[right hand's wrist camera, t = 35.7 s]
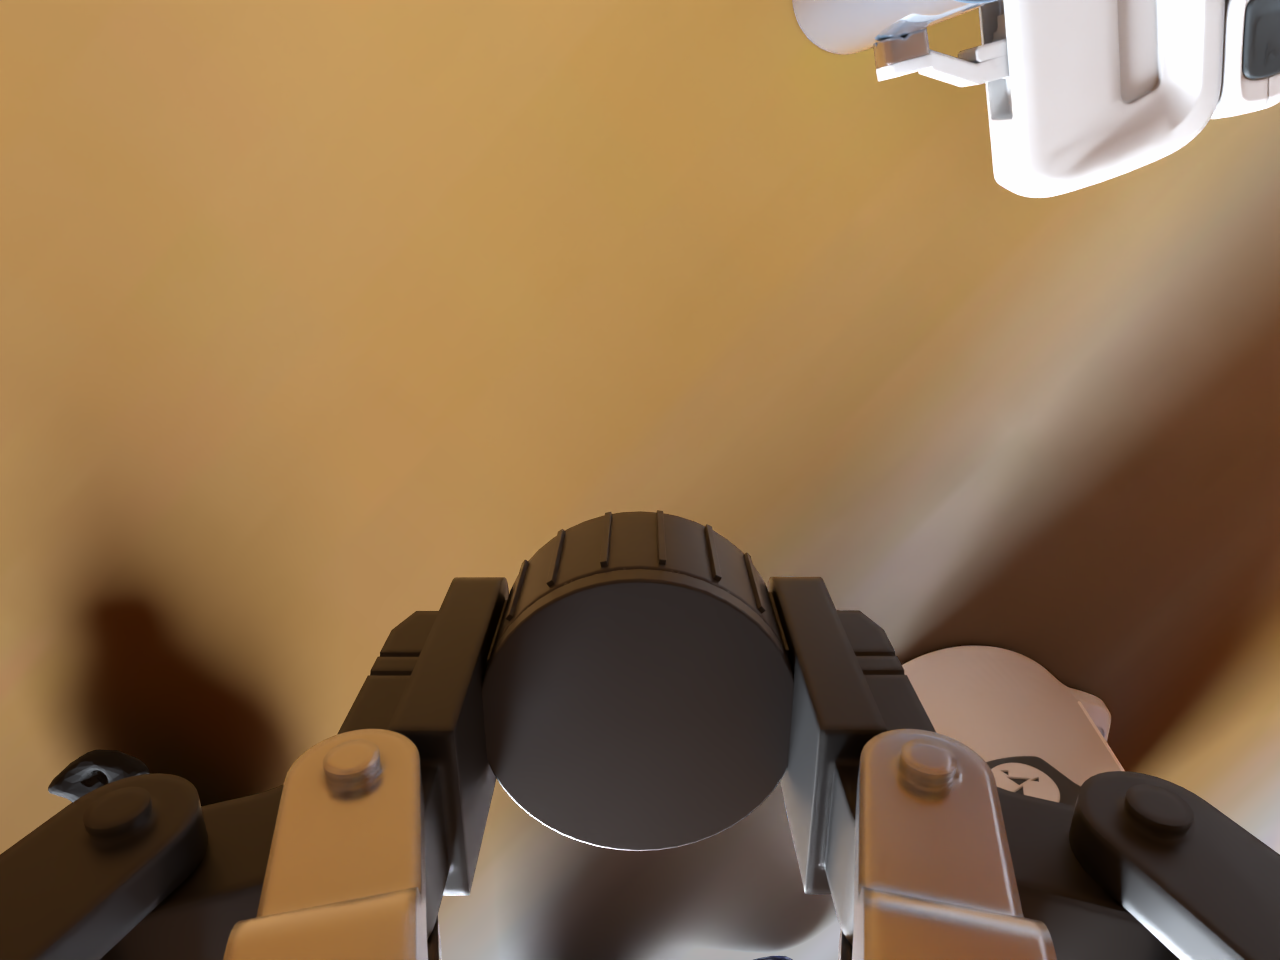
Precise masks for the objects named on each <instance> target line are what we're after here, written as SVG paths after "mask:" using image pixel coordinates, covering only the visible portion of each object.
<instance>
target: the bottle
mask: <svg viewBox="0 0 1280 960" xmlns="http://www.w3.org/2000/svg"><path fill="white" fill-rule="evenodd" d="M792 1H793V8H794V12H795V16H796V19H797V21H798V24H799V26H800V28H801V29H802V31H803V32H804V34H805V35H806V36H807V38H808V39H809V40H811V41H812V42H813V43H814V44H815V45H817V46H818V47H820V48H821V49H823V50H825V51H828V52H831V53H836V54H853V53H857V52H861V51H864V50H866V49H869V48H872V47H874V46H873V44H874V43H877V42H879V41H882V40H885V39H889V38H892V37H897V36H900V37H902V36H904V35H907V34H910V33H912V32H915V31H918V30H921V29H923V28H926V27H929V26H931V25H934V24H937V23H939V22H942V21H945V20H948V19H950V18H953V17H956V16H958V15H961V14H964V13H966V12H969V11H972V10H975V9H977V8H980V7H983V6H985V5H988V4H991V3H993V2H996V1H999V0H792Z"/></svg>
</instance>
